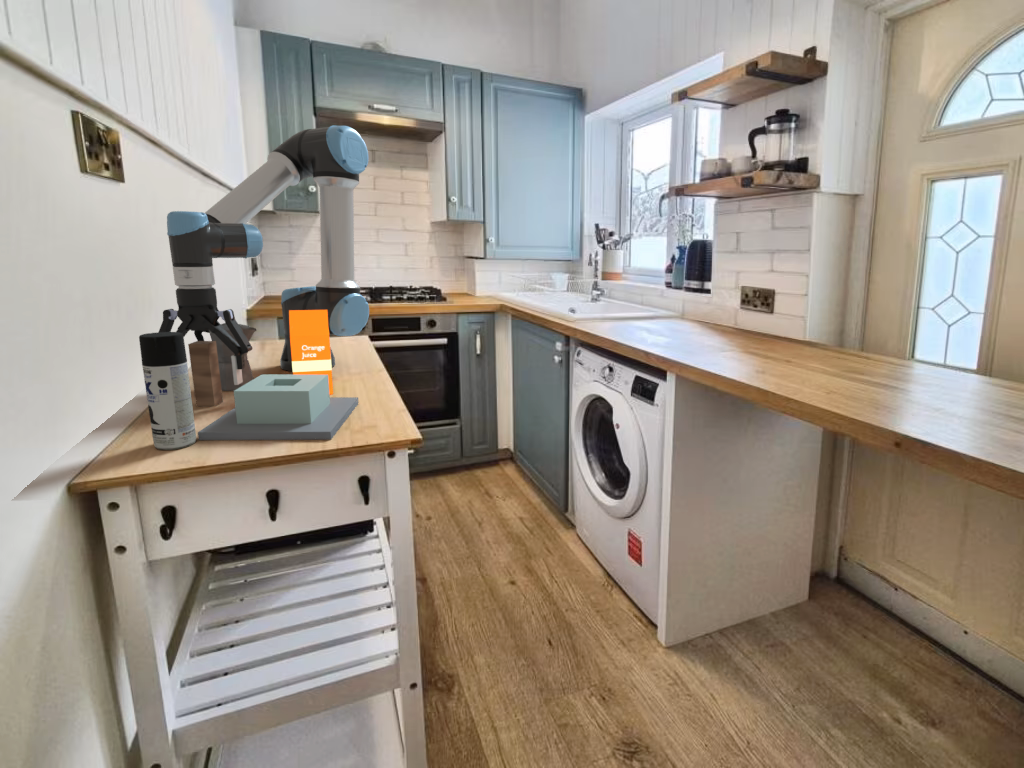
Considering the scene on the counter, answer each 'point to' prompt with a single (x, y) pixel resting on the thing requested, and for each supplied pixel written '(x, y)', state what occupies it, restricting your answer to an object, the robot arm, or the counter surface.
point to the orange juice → (310, 343)
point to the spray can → (168, 389)
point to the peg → (205, 373)
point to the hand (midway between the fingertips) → (207, 383)
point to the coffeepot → (229, 358)
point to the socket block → (282, 410)
